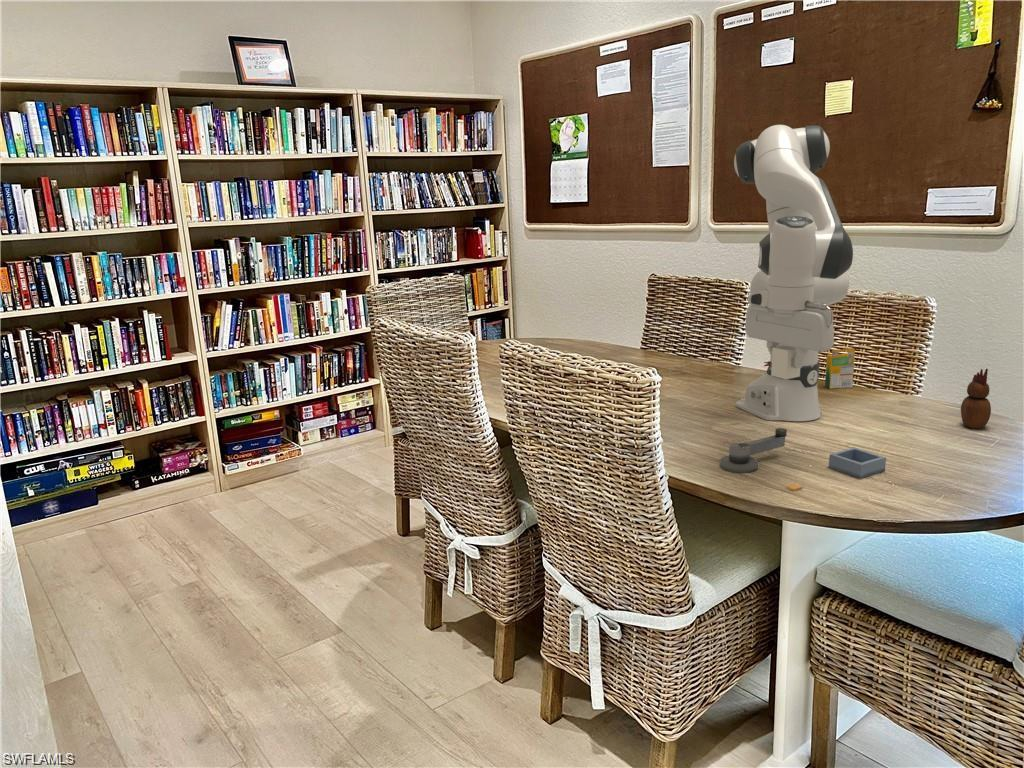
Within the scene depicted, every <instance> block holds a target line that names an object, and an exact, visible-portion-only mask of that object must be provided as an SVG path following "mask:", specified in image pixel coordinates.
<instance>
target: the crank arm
mask: <svg viewBox="0 0 1024 768" xmlns="http://www.w3.org/2000/svg"><path fill="white" fill-rule="evenodd" d="M787 430H788V429H786V428H784V427H783V428H782V427H778V428H777V427H776V428H775V431H774V434H773V435H770V436H767V437H762V438H759V439H754V440H751V441H747V442H732V443H730V444H729V445H728V455H729V461H731V462H734V463H748V462H749V461H750V457H751V456H753V455H756V454H760V453H764V452H767V451H771V450H775V449H778V448H783V447H785V446H786V437H787V436H788V435H787V434H788V433H787Z"/></svg>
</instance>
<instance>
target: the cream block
mask: <svg viewBox="0 0 1024 768" xmlns="http://www.w3.org/2000/svg"><path fill="white" fill-rule="evenodd" d="M797 354H798V352H796V347H793V346H789V345H783V346H778V347H773V349H772V368H771V376H775V377H779V378H783V379H791V378H795V377H800V368H798V369H797V368H793V367H791V364H792V363H791V359H795V358H796V356H797Z"/></svg>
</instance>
